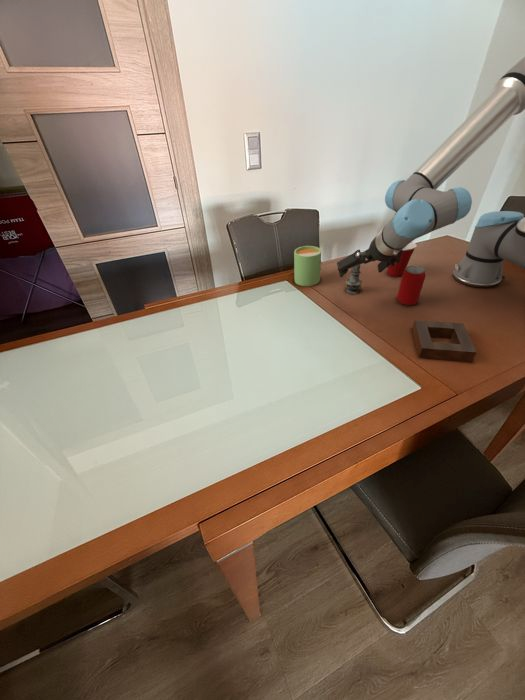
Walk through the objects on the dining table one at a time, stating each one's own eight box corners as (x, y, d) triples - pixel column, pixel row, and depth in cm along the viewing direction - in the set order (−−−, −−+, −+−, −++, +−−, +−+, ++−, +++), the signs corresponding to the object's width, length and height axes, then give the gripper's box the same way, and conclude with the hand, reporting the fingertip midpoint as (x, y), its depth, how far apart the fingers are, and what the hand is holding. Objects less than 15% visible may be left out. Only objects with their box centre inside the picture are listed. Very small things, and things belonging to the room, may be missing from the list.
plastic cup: (397, 265, 125) (404, 236, 117) (415, 276, 117) (423, 245, 109) (374, 270, 123) (379, 241, 115) (391, 282, 115) (398, 251, 107)
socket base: (459, 332, 89) (463, 323, 87) (471, 362, 80) (476, 352, 78) (411, 329, 92) (414, 320, 90) (418, 357, 83) (421, 347, 80)
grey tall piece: (361, 294, 110) (366, 263, 102) (344, 294, 111) (348, 263, 103) (360, 286, 114) (365, 256, 106) (344, 286, 115) (348, 256, 108)
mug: (323, 284, 118) (325, 254, 110) (296, 287, 117) (296, 257, 110) (316, 270, 127) (317, 242, 120) (291, 273, 127) (291, 245, 119)
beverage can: (417, 297, 106) (426, 265, 98) (417, 307, 101) (427, 274, 93) (396, 295, 108) (403, 263, 100) (396, 305, 103) (404, 272, 95)
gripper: (345, 262, 81) (326, 286, 102) (434, 251, 82) (397, 277, 104) (341, 235, 82) (322, 264, 103) (429, 225, 83) (393, 256, 104)
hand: (359, 271), depth 103 cm, fingers open, 13 cm apart
